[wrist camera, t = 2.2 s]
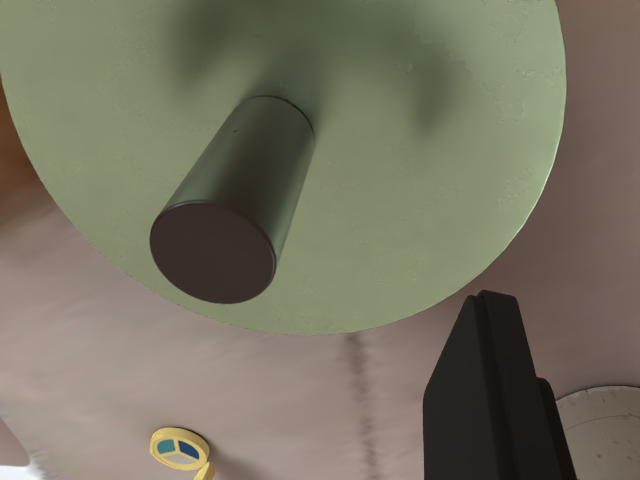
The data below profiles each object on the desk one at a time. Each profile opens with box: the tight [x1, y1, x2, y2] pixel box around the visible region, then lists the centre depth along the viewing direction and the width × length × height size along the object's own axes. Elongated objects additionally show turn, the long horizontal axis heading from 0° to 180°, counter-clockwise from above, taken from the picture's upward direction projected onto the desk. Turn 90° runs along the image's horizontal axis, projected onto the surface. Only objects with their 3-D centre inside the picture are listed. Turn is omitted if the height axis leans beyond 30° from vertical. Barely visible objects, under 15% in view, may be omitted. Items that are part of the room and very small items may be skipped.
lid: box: [0, 0, 567, 335], centre depth 13 cm, size 16×16×7 cm
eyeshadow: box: [150, 427, 216, 480], centre depth 37 cm, size 4×5×5 cm
